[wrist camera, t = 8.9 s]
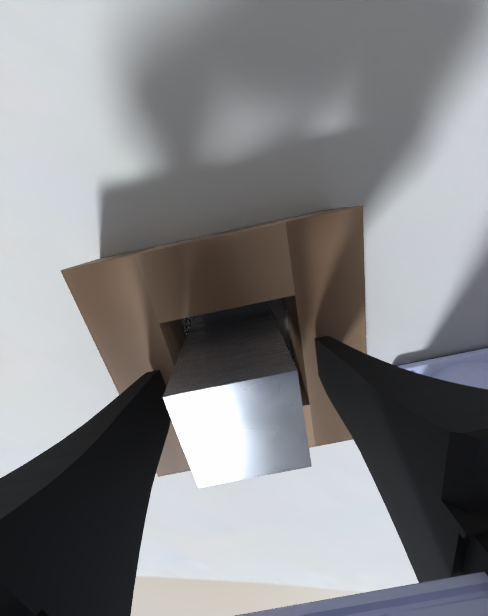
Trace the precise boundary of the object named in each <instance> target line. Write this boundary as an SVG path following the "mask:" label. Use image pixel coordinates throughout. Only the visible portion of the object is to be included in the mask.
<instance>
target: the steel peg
mask: <svg viewBox="0 0 488 616" xmlns="http://www.w3.org/2000/svg"><path fill="white" fill-rule="evenodd" d="M163 400H164V402H165V405H166V407H167V410H168V412H169V415H170V417H171V420H172V422H173V425H174V427H175V430H176V432H177V435H178V437H179V440H180V442H181V445H182V447H183V450H184V452H185V455H186V457H187V460H188V462H189V465H190V467H191V470H192V472H193V475H194V477H195V480H196V482H197V485H198V487H199V488H201V487H206V486H211V485H216V484H222V483H227V482H232V481H238V480H243V479H248V478H253V477H259V476H264V475H269V474H274V473H280V472H285V471H290V470H296V469H301V468H306V467H311V459H310V452H309V446H308V439H307V432H306V426H305V419H304V412H303V405H302V399H301V392H300V385H299V378H298V372H297V369H296V366H295V364H294V362H293V359H292V357H291V355H290V352H289V350H288V348H287V346H286V343H285V341H284V339H283V336H282V334H281V332H280V329H279V327H278V325H277V323H276V320H275V318H274V316H273V313H272V311H271V309H270V306H269V304H268V302H267V301H265V302H260V303H255V304H250V305H245V306H241V307H236V308H231V309H226V310H221V311H217V312H212V313H207V314H202V315H197V316H194V318H193V320H192V323H191V326H190V328H189V331H188V333H187V336H186V338H185V341H184V344H183V346H182V349H181V351H180V354H179V356H178V359H177V362H176V364H175V367H174V369H173V372H172V374H171V377H170V380H169V382H168V385H167V387H166V390H165V392H164V395H163Z"/></svg>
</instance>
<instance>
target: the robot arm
mask: <svg viewBox="0 0 488 616" xmlns="http://www.w3.org/2000/svg"><path fill="white" fill-rule="evenodd" d="M314 339H315V348H316V357H317V366H318V375H319V378H320V380H321V383H322V385H323V387H324V389H325V392H326V394H327V396H328V398H329V399H330V401H331V403H332V404H333V406H334V408H335V409H336V411H337V413H338V414H339V416H340V418H341V419H342V421H343V423H344V424H345V426H346V428H347V429H348V431H349V433H350V434H351V436H352V438H353V439H354V441H355V443H356V445H357V446H358V448H359V450H360V452H361V454H362V456H363V458H364V460H365V462H366V465H367V467H368V469H369V471H370V473H371V475H372V477H373V479H374V481H375V484H376V486H377V488H378V490H379V492H380V494H381V497H382V499H383V501H384V503H385V505H386V507H387V510H388V512H389V514H390V516H391V519H392V521H393V523H394V526H395V528H396V530H397V532H398V535H399V537H400V539H401V541H402V544H403V546H404V548H405V551H406V553H407V555H408V558H409V560H410V562H411V565H412V567H413V569H414V572H415V574H416V577H417V579H418V581H419V583H417V584H411V585H406V586H400V587H394V588H389V589H383V590H377V591H372V592H366V593H360V594H355V595H349V596H343V597H338V598H332V599H327V600H321V601H315V602H310V603H304V604H299V605H293V606H287V607H281V608H275V609H270V610H264V611H259V612H253V613H248V614H242V615H236V616H488V348H486V349H481V350H476V351H471V352H466V353H461V354H456V355H451V356H445V357H440V358H435V359H430V360H425V361H420V362H415V363H410V364H405V365H400V366H394V365H392V364H389V363H386V362H384V361H381V360H379V359H376V358H374V357H372V356H369V355H367V354H365V353H363V352H361V351H359V350H356V349H354V348H352V347H350V346H348V345H346V344H344V343H342V342H340V341H338V340H336V339H334V338H332V337H330V336H323V337H318V338H314ZM165 390H166V385H165V382H164V379H163V377H162V374H161V372H160V370H155V371H151V372H147V373H145V374H144V375H142V376H141V377H140V378H139V379H137V380H136V381H135V382H134V383H133V384H132V385H130V386H129V387H128V388H127V389H126V390H125V391H124V392H122V393H121V394H120V395H119V396H118V397H117V398H115V399H114V400H113V401H112V402H111V403H110V404H108V405H107V406H106V407H105V408H104V409H102V410H101V411H100V412H99V413H97V414H96V415H95V416H94V417H93V418H91V419H90V420H89V421H88V422H86V423H85V424H84V425H82V426H81V427H80V428H78V429H77V430H76V431H74V432H73V433H71V434H70V435H69V436H67V437H66V438H64V439H63V440H62V441H60V442H59V443H57V444H56V445H54V446H53V447H51V448H49V449H48V450H46V451H45V452H43V453H42V454H40V455H39V456H37V457H35V458H34V459H32V460H31V461H29V462H28V463H26V464H24V465H23V466H21V467H19V468H18V469H16V470H14V471H12V472H11V473H9V474H7V475H6V476H4V477H2V478H0V616H130V614H131V606H132V599H133V590H134V584H135V578H136V571H137V564H138V558H139V551H140V546H141V540H142V534H143V529H144V523H145V518H146V513H147V508H148V503H149V498H150V493H151V489H152V485H153V481H154V477H155V474H156V471H157V467H158V464H159V461H160V457H161V454H162V451H163V447H164V444H165V441H166V437H167V434H168V431H169V427H170V422H171V417H170V415H169V412H168V410H167V407H166V405H165V402H164V400H163V395H164V392H165Z"/></svg>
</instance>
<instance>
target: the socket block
mask: <svg viewBox="0 0 488 616" xmlns="http://www.w3.org/2000/svg"><path fill="white" fill-rule="evenodd" d="M61 272H62V275H63V277H64V279H65V281H66V283H67V285H68V287H69V289H70V291H71V294H72V296H73V298H74V300H75V302H76V304H77V306H78V308H79V310H80V313H81V315H82V317H83V319H84V321H85V323H86V325H87V327H88V329H89V332H90V334H91V336H92V338H93V340H94V342H95V344H96V346H97V348H98V351H99V353H100V355H101V357H102V359H103V361H104V363H105V365H106V367H107V369H108V372H109V374H110V376H111V378H112V380H113V382H114V384H115V386H116V388H117V391H118V393H119V395H120V394H121V393H122V392H124V391H125V390H126V389H127V388H128V387H129V386H130V385H132V384H133V383H134V382H135V381H136V380H137V379H139V378H140V377H141V376H142V375H144V374H145V373H147V372H151V371H155V370H160V372H161V374H162V377H163V379H164V382H165V385H166V387H167V385H168V382H169V380H170V377H171V374H172V372H173V369H174V367H175V364H176V362H177V359H178V356H179V354H180V351H181V349H182V346H183V344H184V341H185V338H186V336H185V333H184V330H183V327H182V324H181V321H180V319H183V318H188V317H192V316H197V315H202V314H207V313H212V312H217V311H221V310H226V309H231V308H236V307H241V306H245V305H250V304H255V303H260V302H265V301H270V300H274V299H279V298H284V299H285V305H286V312H287V319H288V325H289V332H290V339H291V345H292V352H293V359H294V364H295V366H296V369H297V372H298V378H299V385H300V392H301V399H302V405H303V412H304V419H305V426H306V432H307V439H308V446H309V448H310V447H315V446H320V445H326V444H331V443H336V442H341V441H347V440H352V439H353V438H352V436H351V434H350V433H349V431H348V429H347V428H346V426H345V424H344V423H343V421H342V419H341V418H340V416H339V414H338V413H337V411H336V409H335V408H334V406H333V404H332V403H331V401H330V399H329V398H328V396H327V394H326V392H325V389H324V387H323V385H322V383H321V380H320V378H319V375H318V366H317V357H316V348H315V339H314V338H318V337H323V336H330V337H332V338H334V339H336V340H338V341H340V342H342V343H344V344H346V345H348V346H350V347H352V348H354V349H356V350H359V351H361V352H363V353H365V354H367V351H366V314H365V276H364V238H363V206H355V207H346V208H336V209H329V210H325V211H320V212H315V213H311V214H306V215H301V216H297V217H292V218H287V219H283V220H278V221H273V222H269V223H264V224H259V225H255V226H250V227H245V228H241V229H236V230H231V231H227V232H222V233H217V234H213V235H208V236H203V237H199V238H194V239H189V240H185V241H180V242H176V243H171V244H166V245H162V246H157V247H152V248H148V249H143V250H138V251H134V252H129V253H124V254H120V255H115V256H110V257H106V258H101V259H97V260H94V261H91V262H87V263H84V264H81V265H77V266H74V267H71V268H67V269H64V270H61ZM190 470H191V467H190V465H189V462H188V460H187V457H186V455H185V452H184V450H183V447H182V445H181V442H180V440H179V437H178V435H177V432H176V430H175V427H174V425H173V422H172V420H171V422H170V427H169V431H168V434H167V437H166V441H165V444H164V447H163V451H162V454H161V457H160V461H159V464H158V467H157V471H156V473H157V475H158V477H159V476H164V475H169V474H175V473H180V472H185V471H190Z"/></svg>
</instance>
